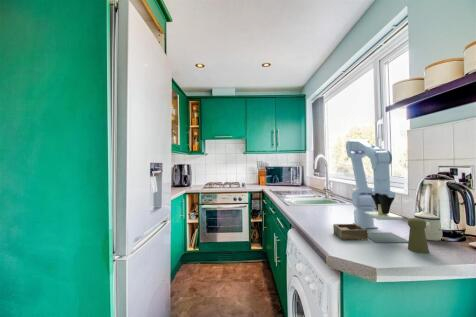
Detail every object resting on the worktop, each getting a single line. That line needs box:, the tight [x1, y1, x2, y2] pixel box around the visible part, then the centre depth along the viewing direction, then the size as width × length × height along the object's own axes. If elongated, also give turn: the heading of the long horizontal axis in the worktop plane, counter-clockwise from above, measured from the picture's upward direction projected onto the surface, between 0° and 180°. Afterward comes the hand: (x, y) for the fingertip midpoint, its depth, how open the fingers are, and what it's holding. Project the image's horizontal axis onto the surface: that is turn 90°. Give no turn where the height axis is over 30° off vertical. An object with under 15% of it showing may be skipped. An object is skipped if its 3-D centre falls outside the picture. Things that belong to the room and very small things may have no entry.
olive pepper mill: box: [407, 217, 430, 254], centre depth 83 cm, size 6×6×11 cm
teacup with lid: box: [413, 210, 443, 242], centre depth 95 cm, size 12×9×12 cm
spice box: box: [332, 223, 369, 241], centre depth 100 cm, size 10×10×4 cm
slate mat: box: [367, 232, 409, 244], centre depth 97 cm, size 13×13×1 cm
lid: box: [365, 204, 404, 221], centre depth 97 cm, size 10×10×5 cm
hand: (383, 212), depth 97 cm, fingers closed on lid, 3 cm apart
